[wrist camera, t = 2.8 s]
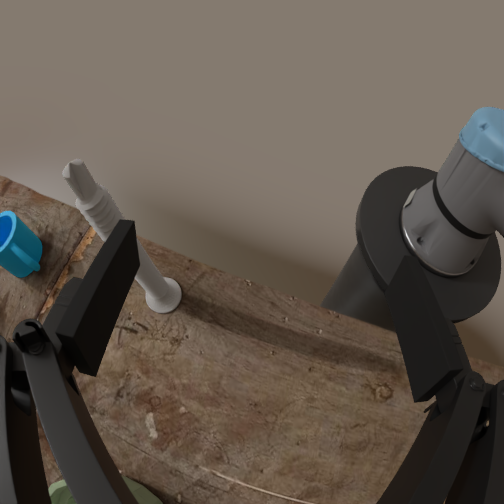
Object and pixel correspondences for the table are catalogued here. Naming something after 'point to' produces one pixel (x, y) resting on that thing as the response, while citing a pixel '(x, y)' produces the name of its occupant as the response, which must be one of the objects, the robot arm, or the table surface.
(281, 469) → the table surface
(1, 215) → the mug
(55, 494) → the bowl
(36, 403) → the robot arm
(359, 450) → the table surface
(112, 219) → the screw
